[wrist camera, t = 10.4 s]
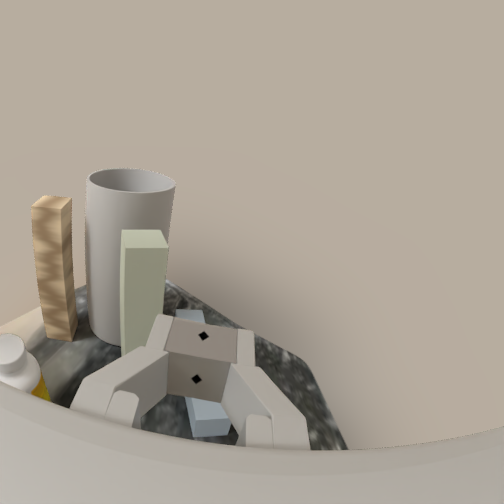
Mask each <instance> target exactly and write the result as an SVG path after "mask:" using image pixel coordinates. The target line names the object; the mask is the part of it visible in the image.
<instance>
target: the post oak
mask: <svg viewBox="0 0 504 504" xmlns="http://www.w3.org/2000/svg"><path fill="white" fill-rule="evenodd" d="M71 212H72V198H67V197H56V196H46V195H45V196H43V197H41V199H39V200H38V201H37V202H36V203H34V204H33V205H32V206H31V214H32V233H33V246H34V257H35V266H36V275H37V282H38V290H39V296H40V303H41V309H42V314H43V320H44V325H45V330H46V334H47V338H52V339H58V340H64V341H70V342H72V340H73V337H74V334H75V331H76V328H77V326H78V320H77V311H76V302H75V291H74V278H73V261H72V229H71V228H72V223H71V222H72V220H71V219H72V217H71V216H72V213H71Z"/></svg>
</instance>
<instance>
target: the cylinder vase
mask: <svg viewBox="0 0 504 504" xmlns="http://www.w3.org/2000/svg"><path fill="white" fill-rule="evenodd" d="M175 185H176V183H175V181H174V180H173V179H172V178H170V177H168V176H166V175H163V174H160V173H156V172H152V171H147V170H140V169H130V168H113V169H104V170H99V171H96V172H93V173H91V174H89V175H88V176H87V185H86V209H85V264H86V287H87V302H88V314H89V324H90V327H91V329H92V331H93V332H94V334H95V335H96V336H97V337H98V338H100V339H101V340H103V341H105V342H107V343H109V344H112V345H116V346H121V332H120V256H121V233H122V230H161V232H162V234H163V236H164V238H165V241H166V243H167V245H168V236H169V227H170V220H171V213H172V206H173V198H174V192H175Z"/></svg>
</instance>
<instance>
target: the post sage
mask: <svg viewBox="0 0 504 504" xmlns="http://www.w3.org/2000/svg"><path fill="white" fill-rule="evenodd" d="M168 252H169V247H168V245H167V243H166V241H165V238H164V236H163V234H162V232H161V230H122V233H121V256H120V332H121V354H122V356H124V355H126V354H127V353H129V352H131V351H133V350H134V349H136V348H138V347H140V346H144V347H145V346H146V343H147V341H148V338H149V335H150V333H151V330H152V327H153V324H154V322H155V319H156V317H157V315H158V314H163V302H164V291H165V280H166V269H167V260H168Z"/></svg>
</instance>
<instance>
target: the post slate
mask: <svg viewBox="0 0 504 504" xmlns="http://www.w3.org/2000/svg"><path fill="white" fill-rule="evenodd" d="M175 317H178V318H182V319H187V320H192V321H196V322H201V323H205V319H204V315H203V312H202V310H187V309H176V310H175ZM185 400H186V405H187V410H188V415H189V420H190V425H191V429H192V434H193V437H207V436H220V435H228V432H229V429H230V426H231V421H230V419H229V418H228V416H227V414H226V413H225V411H224V409H223V408H222V406H221V403H217V402H212V401H206V400H201V399H196V398H190V397H185Z"/></svg>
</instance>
